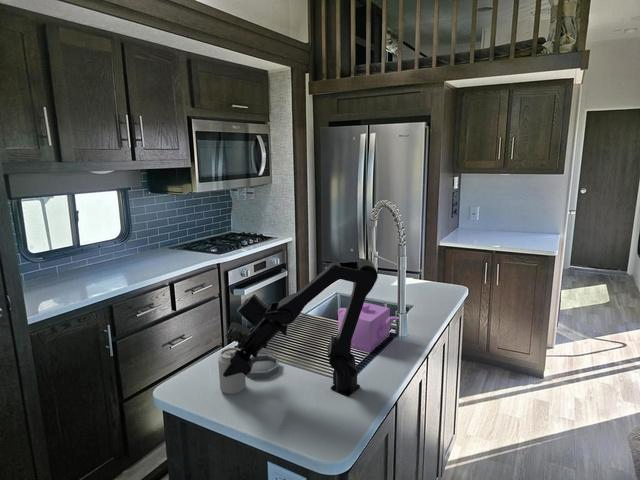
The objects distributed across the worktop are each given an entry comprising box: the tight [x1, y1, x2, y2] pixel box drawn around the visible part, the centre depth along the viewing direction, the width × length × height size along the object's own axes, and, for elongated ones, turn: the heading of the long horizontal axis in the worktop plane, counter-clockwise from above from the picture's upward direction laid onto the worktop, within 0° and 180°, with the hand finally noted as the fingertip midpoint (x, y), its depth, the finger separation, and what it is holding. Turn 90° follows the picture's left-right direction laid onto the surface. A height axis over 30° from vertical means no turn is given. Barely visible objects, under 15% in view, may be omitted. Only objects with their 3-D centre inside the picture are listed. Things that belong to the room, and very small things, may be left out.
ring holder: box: [245, 353, 280, 380], centre depth 137 cm, size 12×12×2 cm
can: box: [217, 347, 246, 395], centre depth 124 cm, size 8×8×12 cm
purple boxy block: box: [337, 301, 400, 353], centre depth 154 cm, size 15×25×14 cm, turn 55°
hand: (227, 368), depth 124 cm, fingers closed on can, 7 cm apart
